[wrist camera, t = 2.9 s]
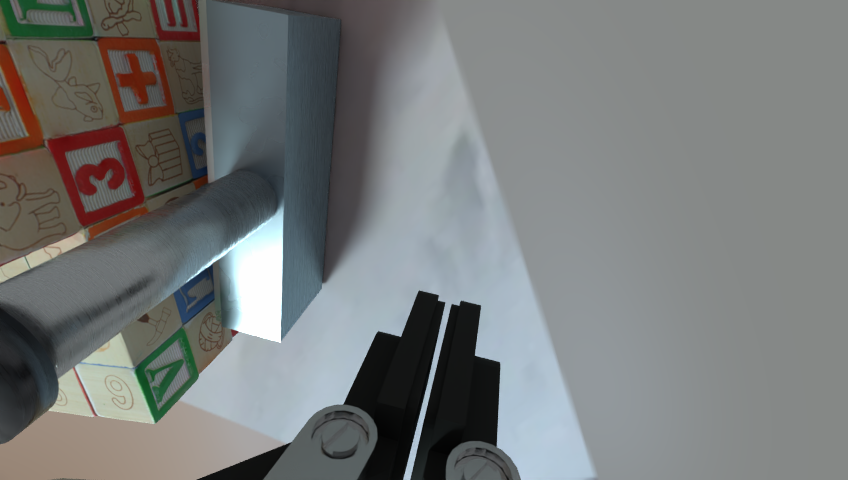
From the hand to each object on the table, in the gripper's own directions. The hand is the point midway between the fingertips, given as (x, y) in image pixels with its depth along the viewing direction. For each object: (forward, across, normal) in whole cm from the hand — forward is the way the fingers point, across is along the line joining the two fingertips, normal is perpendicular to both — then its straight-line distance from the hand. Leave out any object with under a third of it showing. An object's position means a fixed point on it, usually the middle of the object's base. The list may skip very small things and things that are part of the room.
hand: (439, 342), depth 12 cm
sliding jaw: (+11, +9, 0) cm, 14 cm away
